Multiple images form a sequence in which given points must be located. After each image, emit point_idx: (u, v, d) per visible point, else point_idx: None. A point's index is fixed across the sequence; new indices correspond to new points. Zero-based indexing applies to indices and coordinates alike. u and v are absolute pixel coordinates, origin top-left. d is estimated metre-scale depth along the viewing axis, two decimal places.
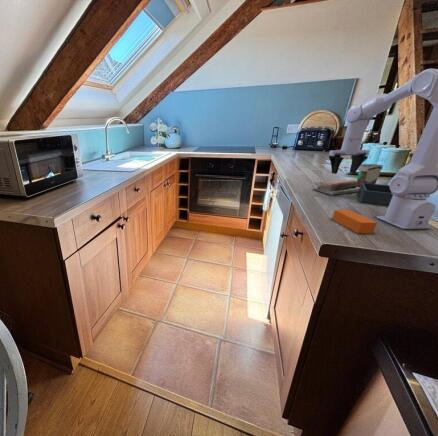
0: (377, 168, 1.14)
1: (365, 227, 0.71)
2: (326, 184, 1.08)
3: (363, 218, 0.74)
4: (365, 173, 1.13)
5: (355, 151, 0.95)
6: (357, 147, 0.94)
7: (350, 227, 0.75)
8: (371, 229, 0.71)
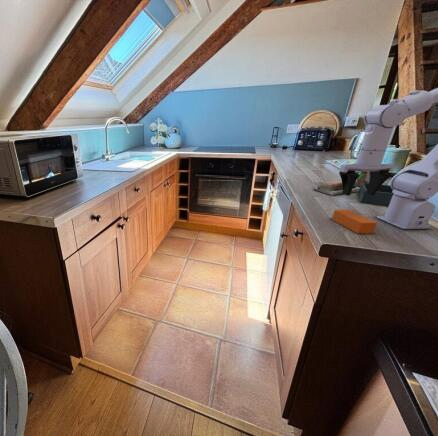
0: None
1: (365, 227, 0.71)
2: (326, 184, 1.08)
3: (363, 218, 0.74)
4: (365, 173, 1.13)
5: (376, 166, 0.70)
6: (379, 161, 0.69)
7: (350, 227, 0.75)
8: (371, 229, 0.71)
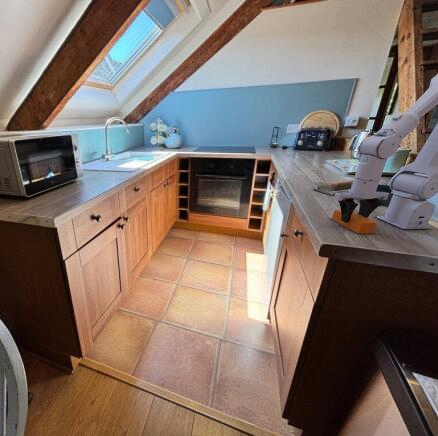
0: None
1: (365, 227, 0.71)
2: (326, 184, 1.08)
3: (363, 218, 0.74)
4: None
5: (370, 196, 0.70)
6: (373, 191, 0.70)
7: (350, 227, 0.75)
8: (371, 229, 0.71)
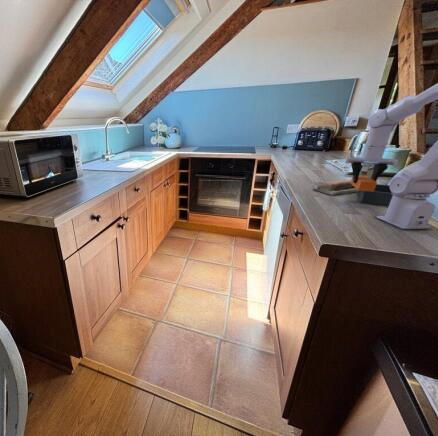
0: None
1: (365, 185, 0.88)
2: (326, 184, 1.08)
3: (369, 179, 0.89)
4: (365, 173, 1.13)
5: (373, 160, 0.86)
6: (376, 155, 0.85)
7: (356, 186, 0.91)
8: (371, 188, 0.87)
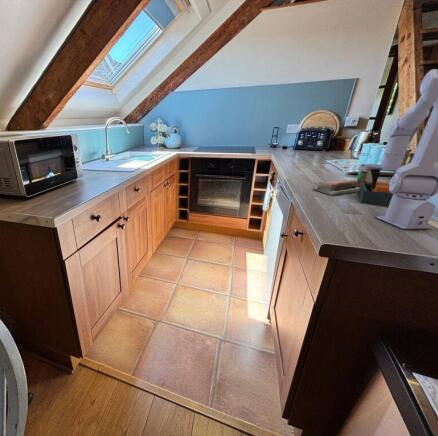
0: None
1: (381, 191, 0.93)
2: (326, 184, 1.08)
3: (387, 186, 0.94)
4: (365, 173, 1.13)
5: (391, 167, 0.92)
6: (394, 163, 0.91)
7: None
8: None
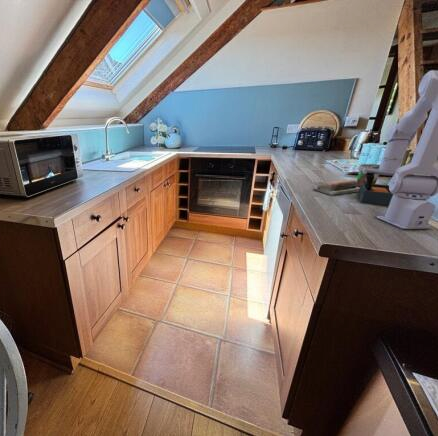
0: (377, 168, 1.14)
1: None
2: (326, 184, 1.08)
3: None
4: None
5: (389, 171, 0.92)
6: (392, 167, 0.92)
7: None
8: None
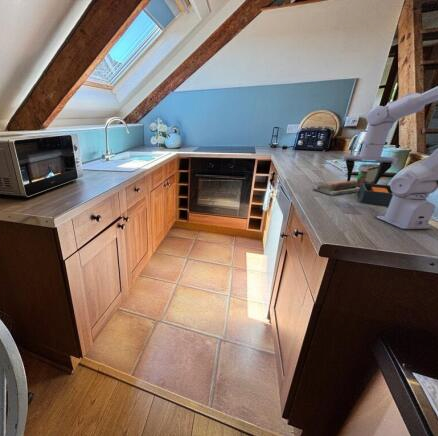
0: (377, 168, 1.14)
1: None
2: (326, 184, 1.08)
3: None
4: (365, 173, 1.13)
5: (370, 158, 0.84)
6: (373, 153, 0.84)
7: None
8: None
